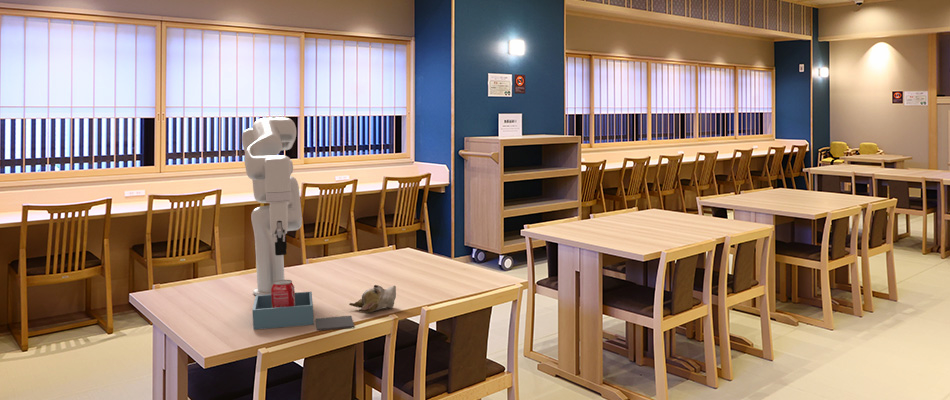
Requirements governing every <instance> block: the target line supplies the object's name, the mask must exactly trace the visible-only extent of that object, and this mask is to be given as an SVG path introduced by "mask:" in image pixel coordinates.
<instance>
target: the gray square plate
mask: <svg viewBox="0 0 950 400" xmlns="http://www.w3.org/2000/svg"><path fill="white" fill-rule="evenodd" d="M315 327H316V328H315V329H316V331H317V330H319V331H330V330H332V331H333V330H341V329H342V330H343V329H353V328H352V327H354V328H355V324H354V320H353V318H352V315H343V316H330V317H317V318H315Z"/></svg>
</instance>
